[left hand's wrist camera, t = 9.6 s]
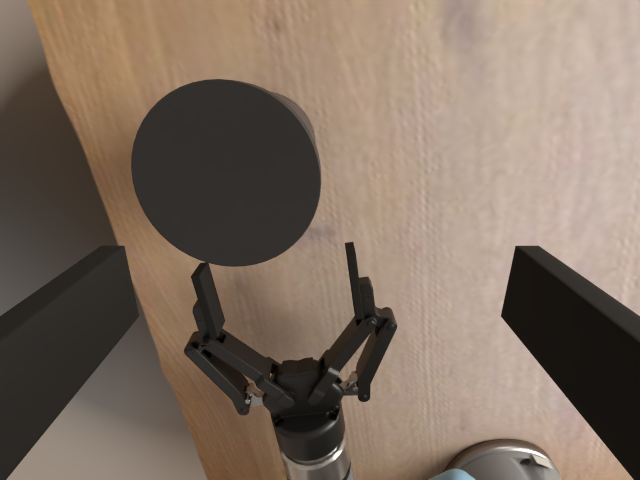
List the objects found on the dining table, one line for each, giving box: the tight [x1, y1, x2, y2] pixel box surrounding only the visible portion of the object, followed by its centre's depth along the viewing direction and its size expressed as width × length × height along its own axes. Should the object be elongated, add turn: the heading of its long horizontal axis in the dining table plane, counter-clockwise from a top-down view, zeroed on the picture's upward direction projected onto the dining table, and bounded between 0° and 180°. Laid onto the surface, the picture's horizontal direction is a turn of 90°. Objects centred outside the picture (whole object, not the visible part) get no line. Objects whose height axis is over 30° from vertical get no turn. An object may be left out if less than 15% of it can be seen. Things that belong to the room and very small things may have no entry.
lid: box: [131, 79, 321, 267], centre depth 21 cm, size 10×10×2 cm
